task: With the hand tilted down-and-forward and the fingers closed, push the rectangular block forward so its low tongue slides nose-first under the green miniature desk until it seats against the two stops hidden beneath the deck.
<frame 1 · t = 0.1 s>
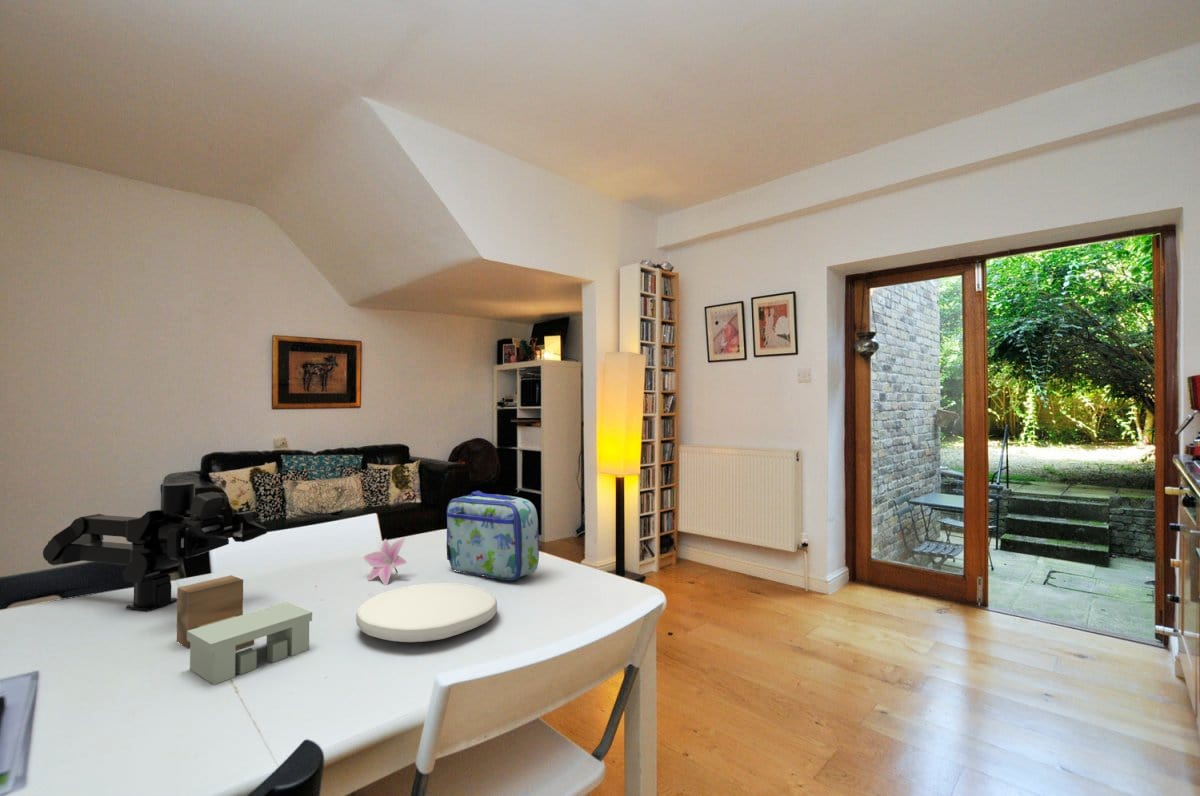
hand: (247, 536, 114), 17 cm above the table, tool horizontal, fingers open, 9 cm apart
cream round disc: (429, 625, 111), on the table
rectangular block: (210, 636, 104), on the table
green miniature desk: (251, 658, 95), on the table
lily: (386, 579, 139), on the table
lunch box: (490, 574, 143), on the table
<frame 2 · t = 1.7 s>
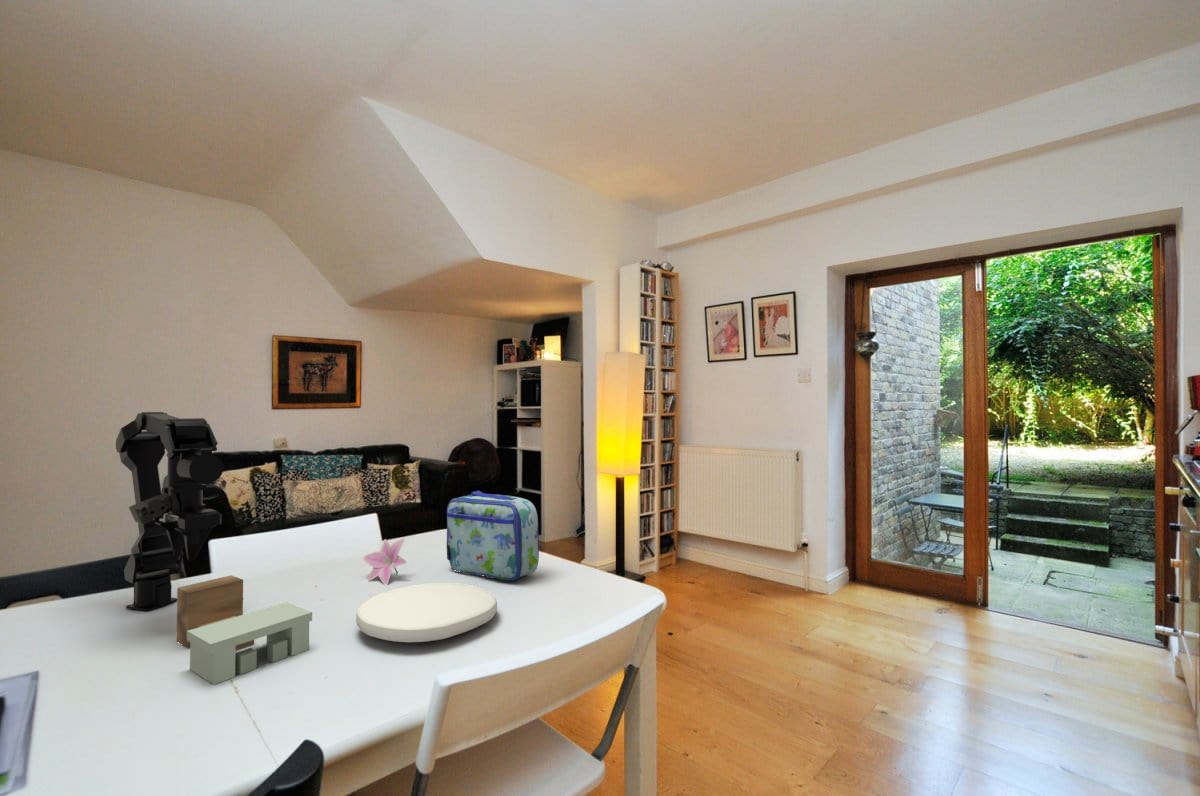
hand: (184, 557, 110), 13 cm above the table, tool pointing down, fingers open, 6 cm apart
nothing on the table moved.
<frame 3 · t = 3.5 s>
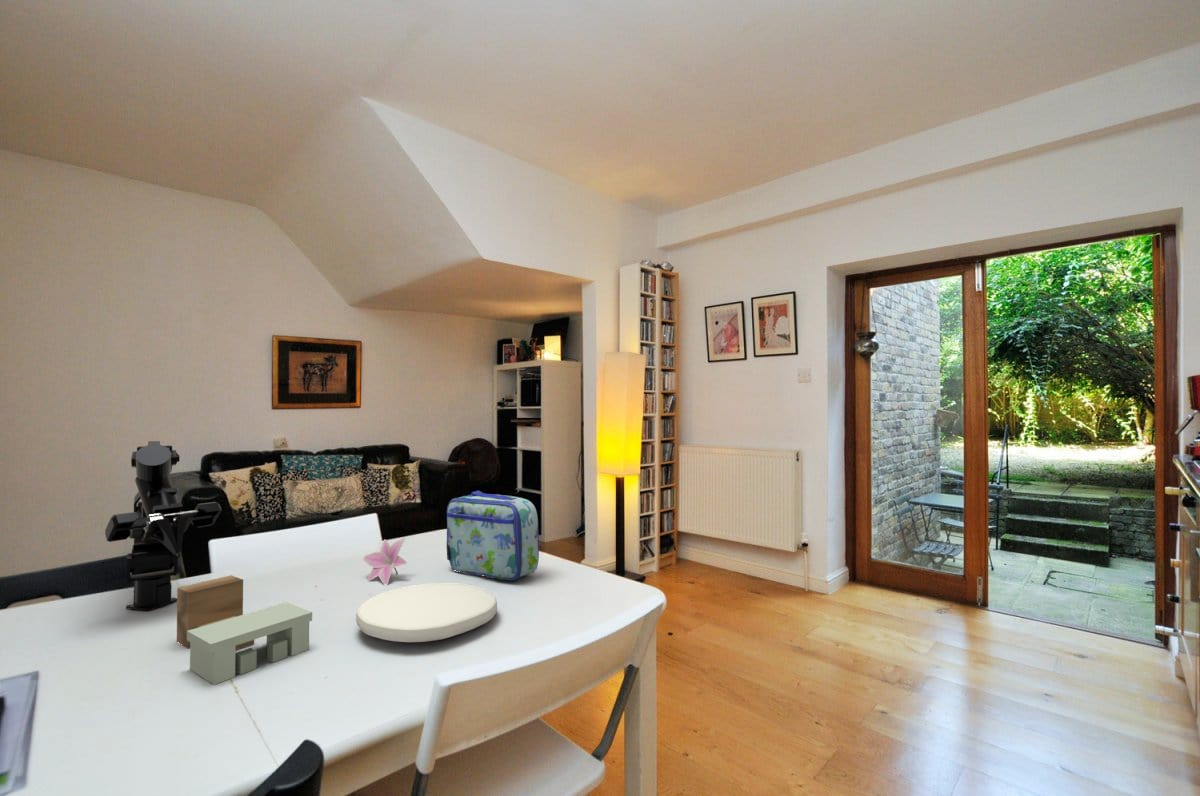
hand: (177, 553, 112), 13 cm above the table, tool tilted 45°, fingers closed
nothing on the table moved.
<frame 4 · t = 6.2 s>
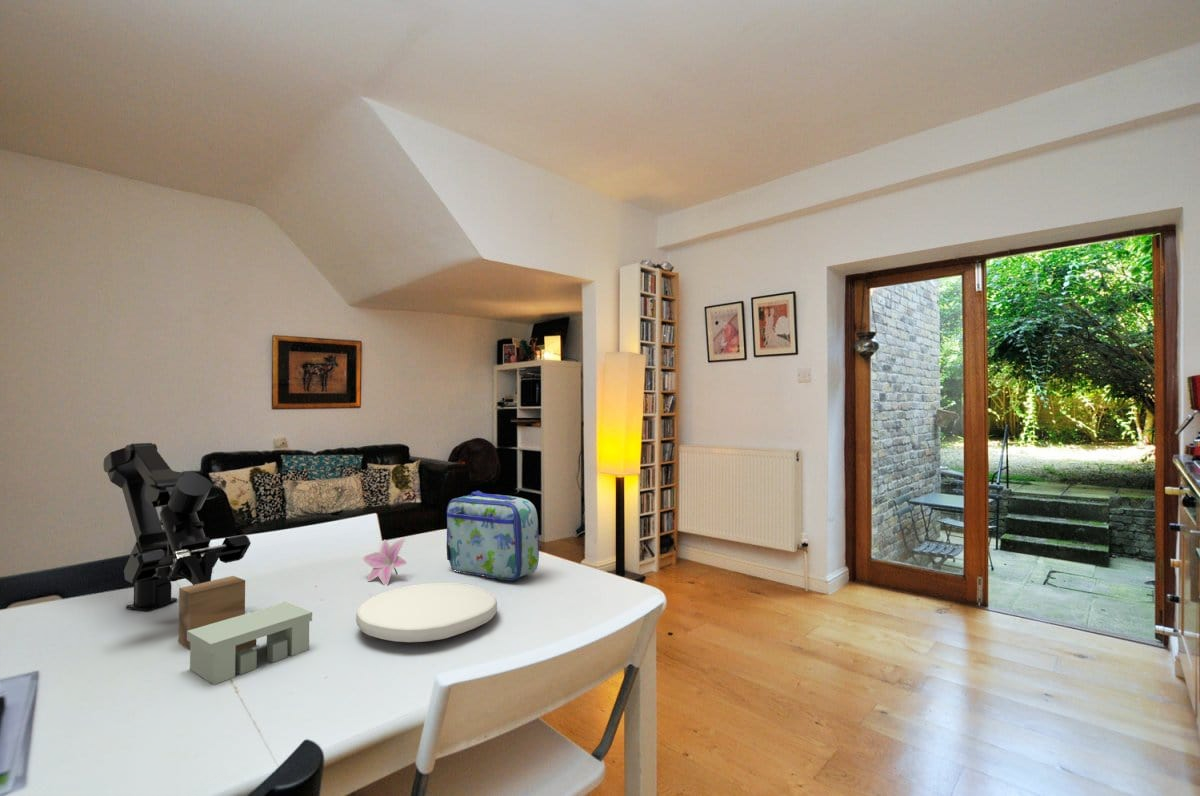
hand: (206, 592, 105), 8 cm above the table, tool tilted 45°, fingers closed, pressing on rectangular block
rectangular block: (212, 637, 103), on the table, touching gripper
everything else where it was.
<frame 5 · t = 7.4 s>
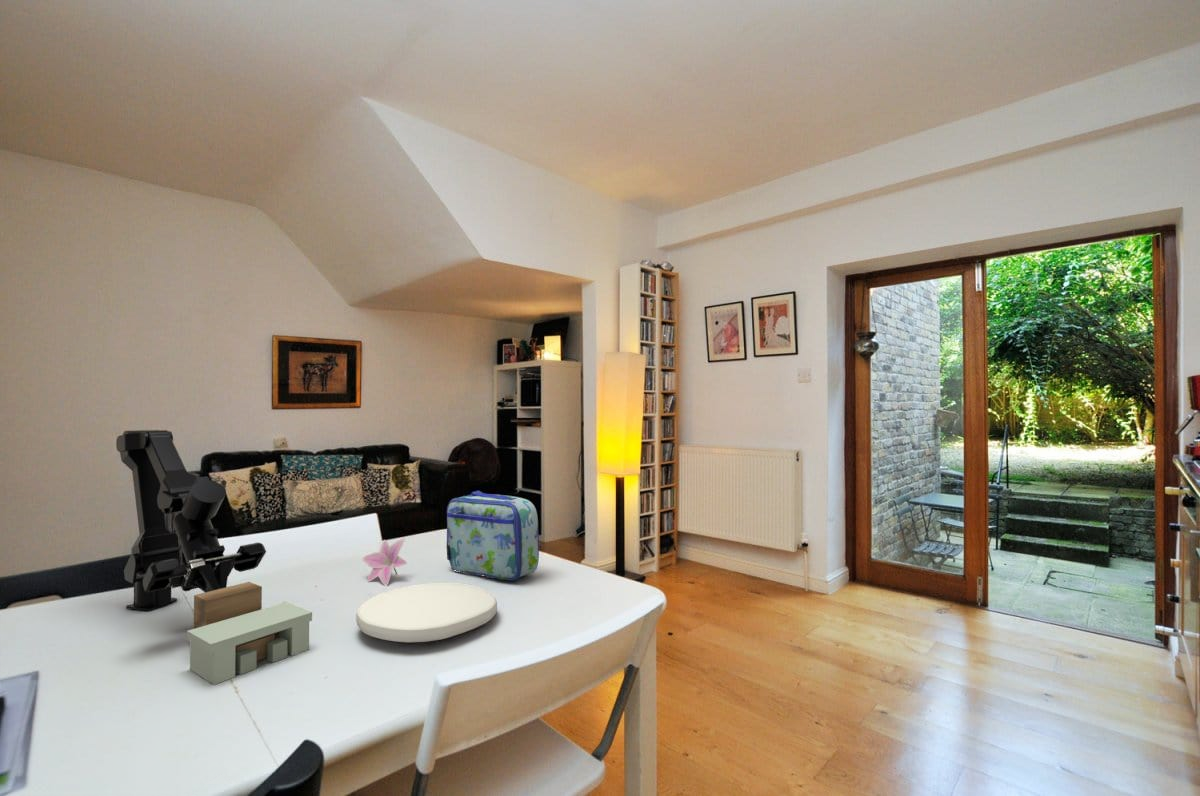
hand: (221, 603, 101), 7 cm above the table, tool tilted 45°, fingers closed, pressing on rectangular block
rectangular block: (228, 645, 100), on the table, touching gripper
everything else where it was.
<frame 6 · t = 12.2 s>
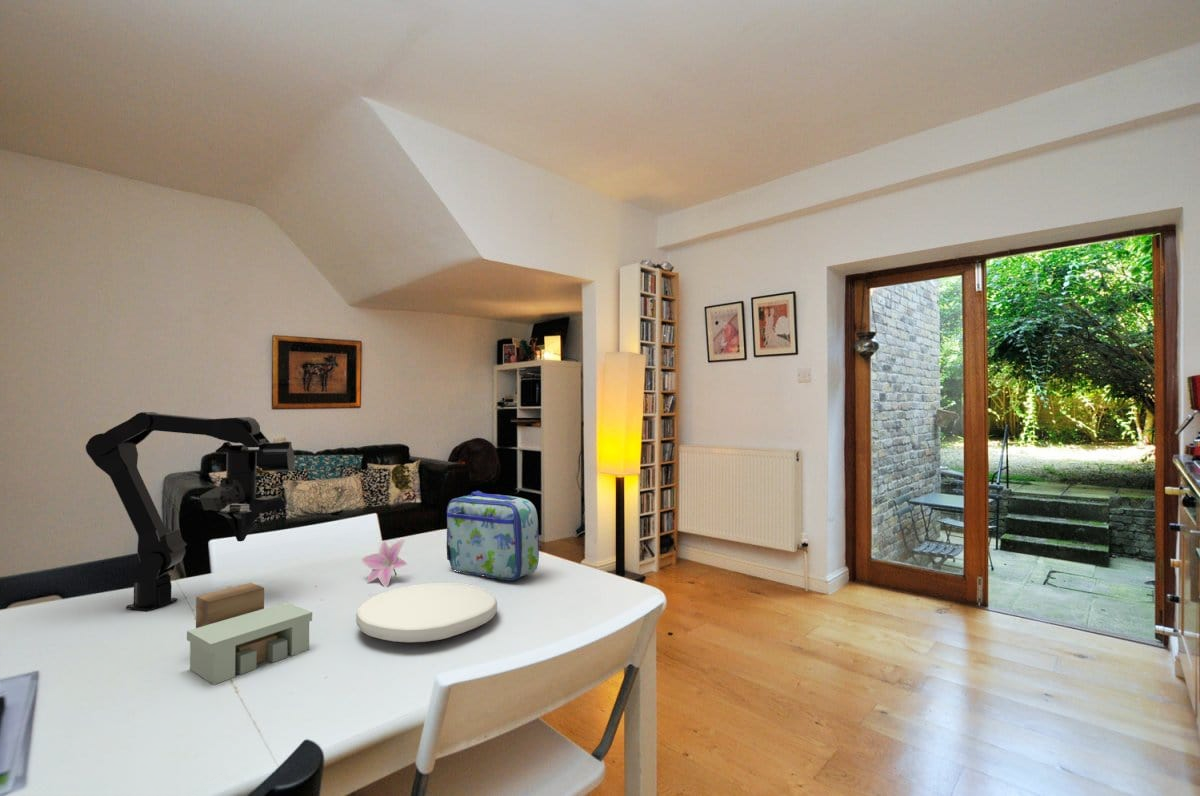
hand: (240, 541, 124), 13 cm above the table, tool pointing down, fingers closed
rectangular block: (230, 647, 99), on the table
at the end: rectangular block 0.2 cm from the target spot on the table beside the green miniature desk, on the table; rectangular block tilted 0°; rectangular block moved 8.2 cm from its start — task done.
